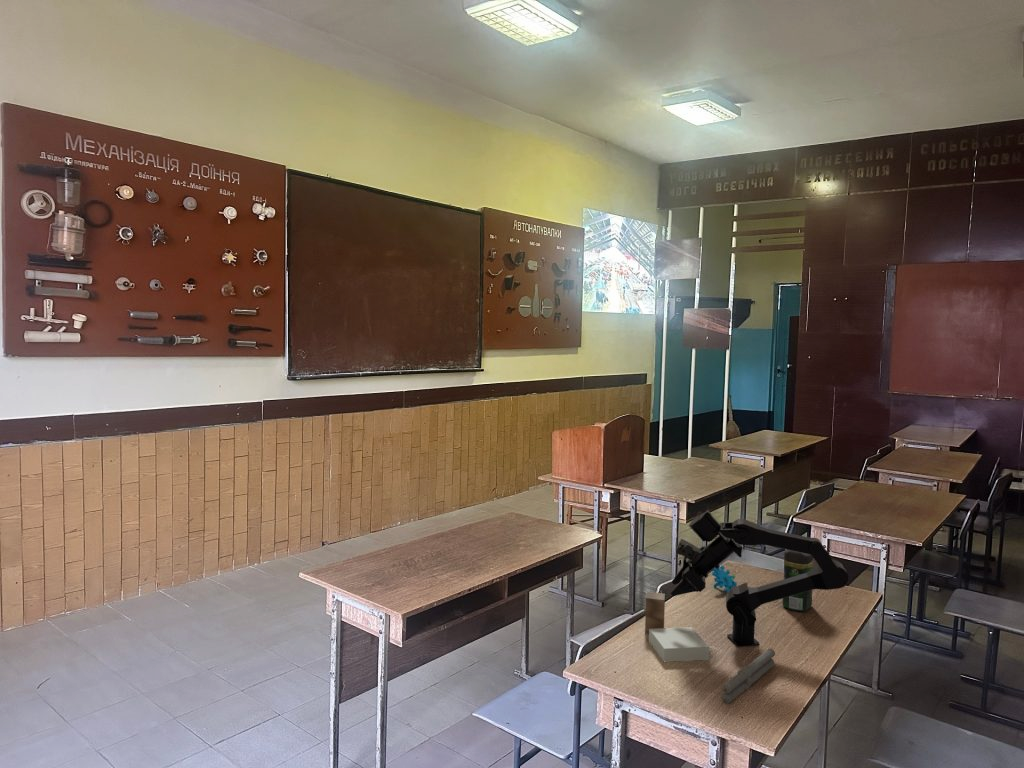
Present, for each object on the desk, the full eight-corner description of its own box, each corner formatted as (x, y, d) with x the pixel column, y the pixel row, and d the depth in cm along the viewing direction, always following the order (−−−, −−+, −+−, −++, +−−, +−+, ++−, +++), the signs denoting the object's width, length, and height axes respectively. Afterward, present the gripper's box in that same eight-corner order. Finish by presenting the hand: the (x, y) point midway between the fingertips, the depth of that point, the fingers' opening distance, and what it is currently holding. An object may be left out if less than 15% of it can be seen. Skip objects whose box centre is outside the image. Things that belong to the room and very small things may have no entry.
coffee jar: (788, 599, 222) (790, 541, 221) (814, 605, 217) (816, 546, 216) (778, 608, 214) (781, 548, 213) (805, 614, 209) (808, 554, 208)
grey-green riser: (708, 661, 179) (709, 646, 178) (663, 663, 177) (664, 648, 177) (691, 641, 191) (691, 627, 190) (648, 643, 189) (649, 628, 189)
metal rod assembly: (765, 665, 177) (765, 646, 177) (775, 668, 175) (776, 649, 175) (719, 703, 158) (719, 681, 158) (730, 707, 156) (731, 686, 156)
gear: (725, 592, 222) (709, 564, 228) (713, 601, 226) (697, 573, 231) (745, 589, 229) (729, 562, 235) (733, 598, 232) (717, 571, 238)
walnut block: (664, 627, 198) (665, 593, 198) (663, 635, 193) (664, 600, 193) (646, 625, 200) (647, 591, 199) (645, 632, 195) (645, 598, 194)
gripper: (694, 523, 201) (654, 556, 205) (693, 541, 183) (650, 577, 187) (721, 552, 200) (680, 585, 203) (724, 573, 182) (679, 609, 185)
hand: (672, 588), depth 194 cm, fingers open, 9 cm apart
